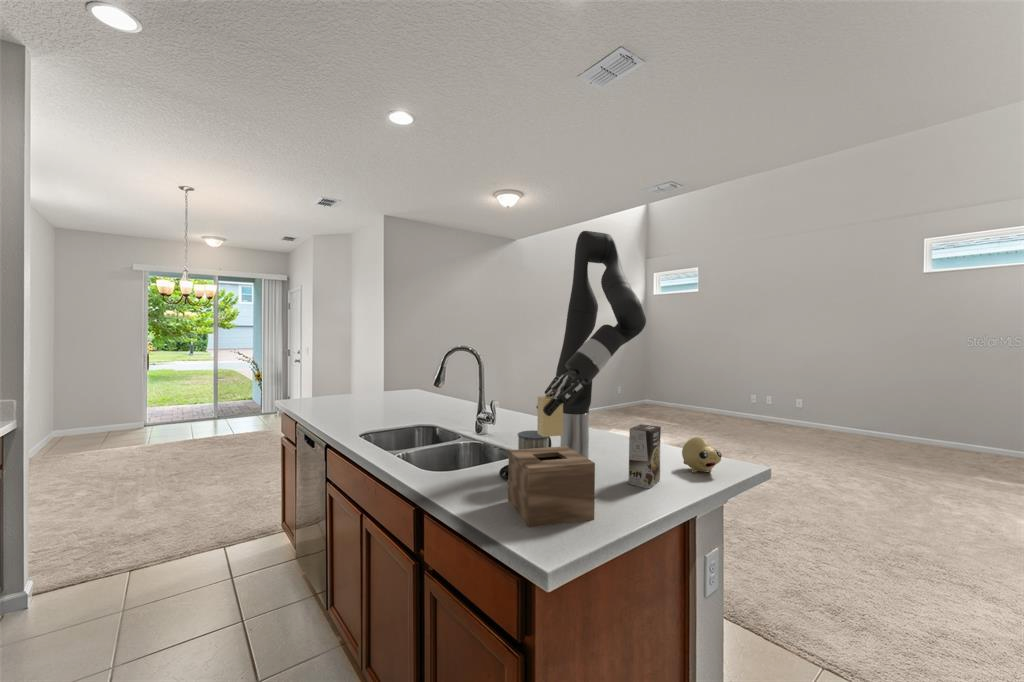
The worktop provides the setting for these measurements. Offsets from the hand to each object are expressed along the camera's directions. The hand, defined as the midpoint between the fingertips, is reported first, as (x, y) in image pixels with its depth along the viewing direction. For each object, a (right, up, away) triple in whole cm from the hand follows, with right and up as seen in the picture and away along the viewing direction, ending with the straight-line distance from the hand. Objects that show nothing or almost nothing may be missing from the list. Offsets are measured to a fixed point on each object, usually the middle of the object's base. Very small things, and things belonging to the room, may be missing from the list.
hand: (542, 411), depth 105 cm
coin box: (+2, -24, +1) cm, 24 cm away
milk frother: (-4, -24, +20) cm, 32 cm away
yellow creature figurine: (+52, -24, +32) cm, 65 cm away
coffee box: (+31, -24, +21) cm, 45 cm away
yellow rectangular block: (+2, -6, +1) cm, 6 cm away
